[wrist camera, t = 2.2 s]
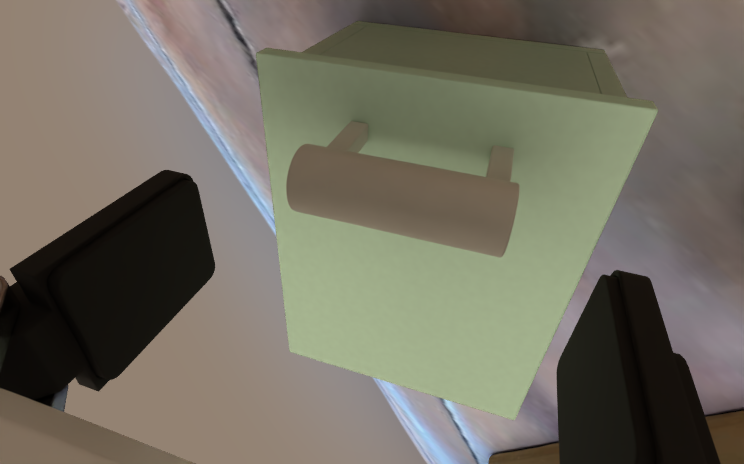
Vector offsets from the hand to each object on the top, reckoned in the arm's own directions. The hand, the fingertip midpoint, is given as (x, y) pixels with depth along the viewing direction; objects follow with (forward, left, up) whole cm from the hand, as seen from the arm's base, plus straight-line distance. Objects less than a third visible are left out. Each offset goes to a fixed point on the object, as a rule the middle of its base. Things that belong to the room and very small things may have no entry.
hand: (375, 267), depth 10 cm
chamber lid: (+6, 0, -7) cm, 9 cm away
